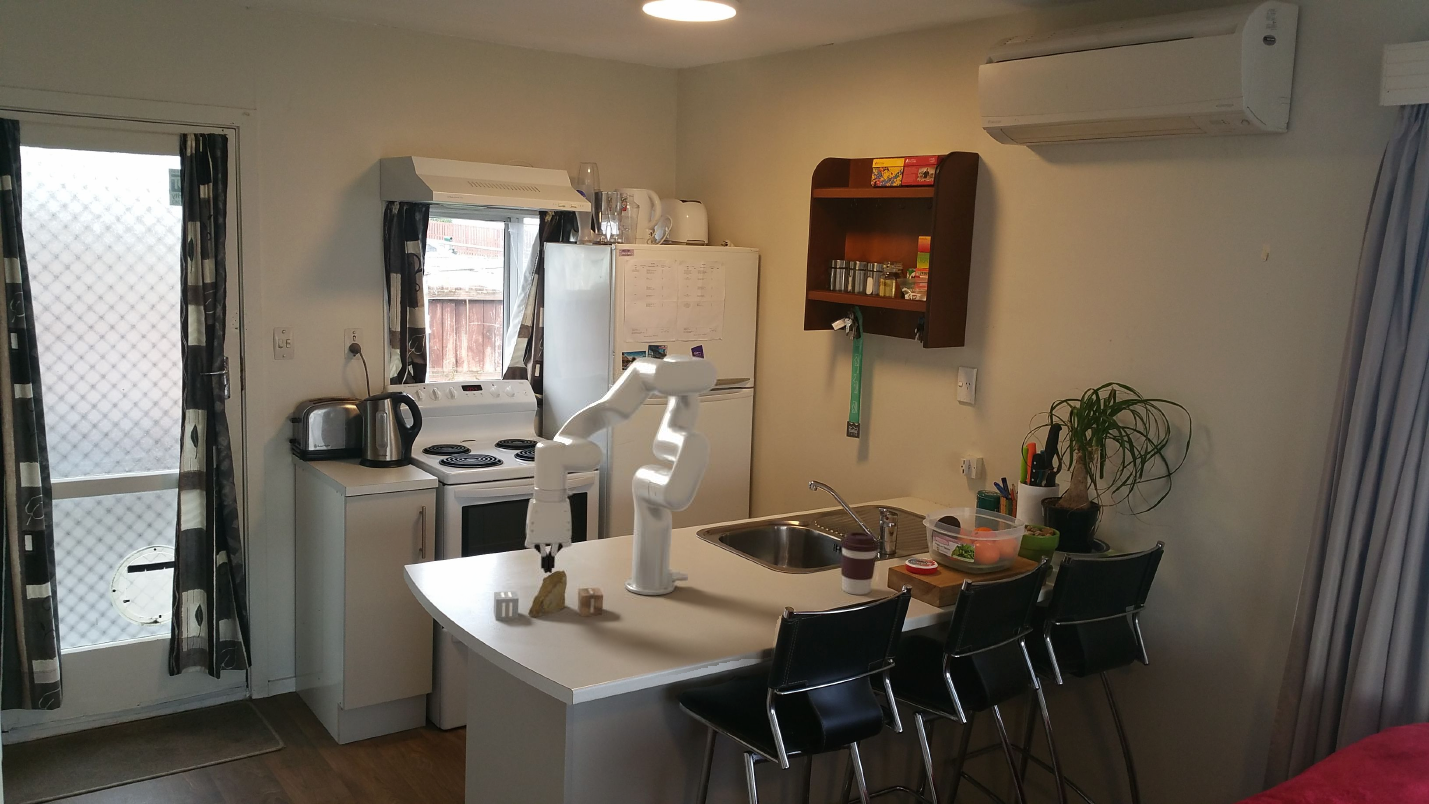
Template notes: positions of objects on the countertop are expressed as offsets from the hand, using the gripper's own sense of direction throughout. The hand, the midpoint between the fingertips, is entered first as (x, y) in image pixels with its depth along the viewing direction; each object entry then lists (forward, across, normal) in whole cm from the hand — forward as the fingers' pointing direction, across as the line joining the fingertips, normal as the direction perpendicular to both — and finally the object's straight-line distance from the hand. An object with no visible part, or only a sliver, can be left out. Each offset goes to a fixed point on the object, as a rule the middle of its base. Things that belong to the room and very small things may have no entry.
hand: (547, 571), depth 241 cm
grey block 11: (+10, +10, +2) cm, 14 cm away
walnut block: (+10, -10, +2) cm, 14 cm away
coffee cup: (+10, -81, -4) cm, 82 cm away
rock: (+10, 0, 0) cm, 10 cm away
